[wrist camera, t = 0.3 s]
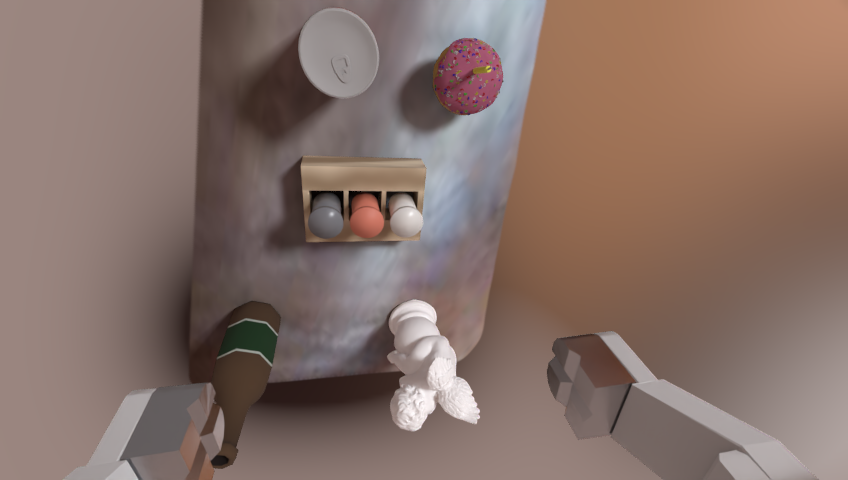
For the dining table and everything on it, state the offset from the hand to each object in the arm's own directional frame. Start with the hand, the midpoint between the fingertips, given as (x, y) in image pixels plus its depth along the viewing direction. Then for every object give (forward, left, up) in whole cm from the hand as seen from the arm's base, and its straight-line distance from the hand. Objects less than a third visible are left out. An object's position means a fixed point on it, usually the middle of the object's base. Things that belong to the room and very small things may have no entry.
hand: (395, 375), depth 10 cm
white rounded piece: (+15, +7, -43) cm, 46 cm away
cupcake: (-2, +14, -47) cm, 49 cm away
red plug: (+15, +2, -43) cm, 46 cm away
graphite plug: (+15, -3, -43) cm, 46 cm away
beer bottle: (+37, -15, -47) cm, 62 cm away
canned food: (-4, -1, -47) cm, 47 cm away
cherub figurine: (+37, +11, -47) cm, 61 cm away
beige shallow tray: (+15, +2, -47) cm, 49 cm away
